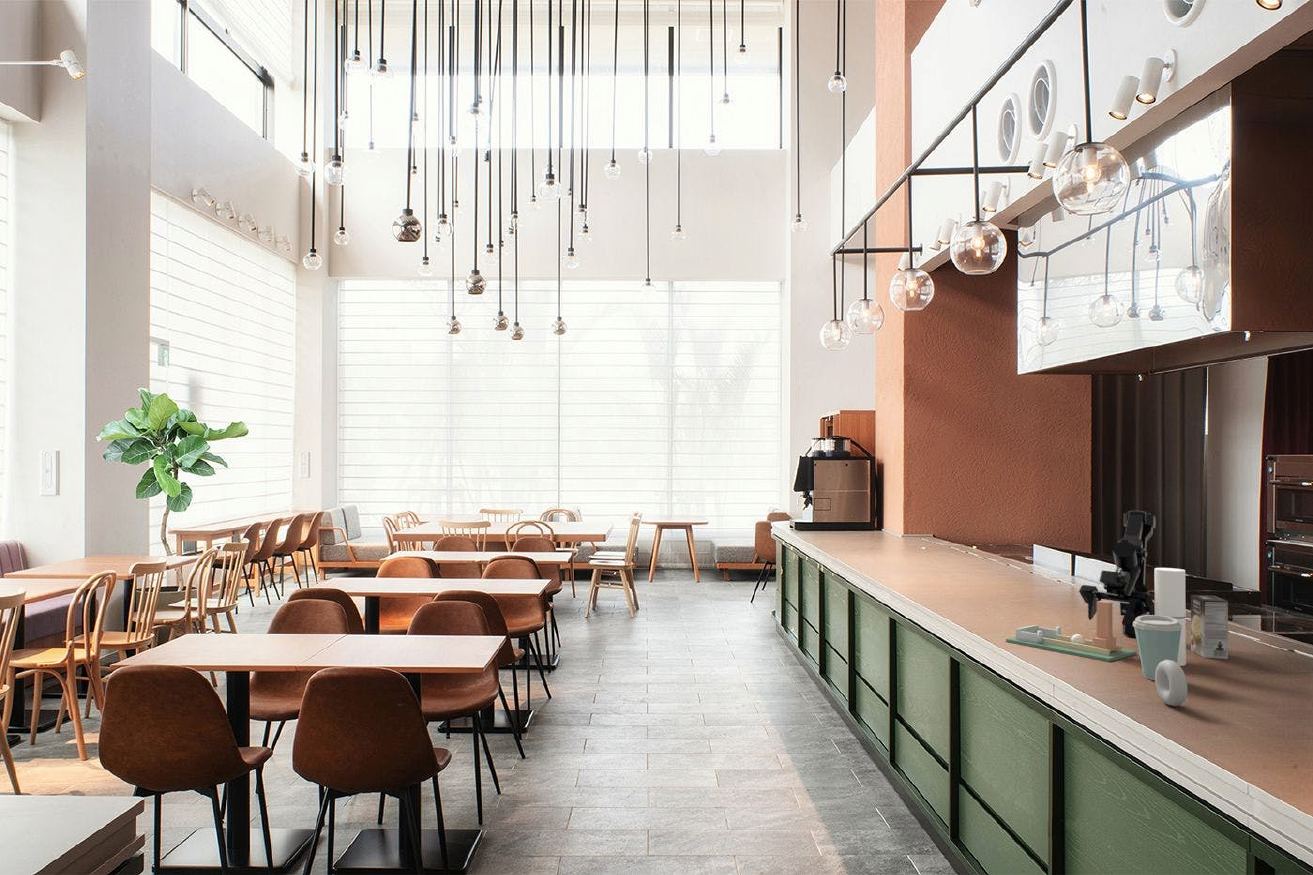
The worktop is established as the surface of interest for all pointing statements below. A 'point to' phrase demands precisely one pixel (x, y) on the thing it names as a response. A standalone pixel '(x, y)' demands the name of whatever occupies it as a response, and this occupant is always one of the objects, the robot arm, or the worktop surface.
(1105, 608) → the player
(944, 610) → the worktop surface
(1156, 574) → the cylindrical container
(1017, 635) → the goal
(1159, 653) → the disposable coffee cup
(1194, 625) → the coffee box
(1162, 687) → the donut
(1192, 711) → the worktop surface
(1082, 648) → the board
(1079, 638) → the ball
